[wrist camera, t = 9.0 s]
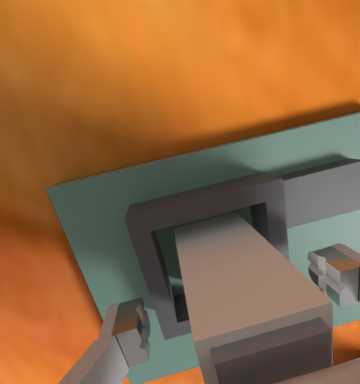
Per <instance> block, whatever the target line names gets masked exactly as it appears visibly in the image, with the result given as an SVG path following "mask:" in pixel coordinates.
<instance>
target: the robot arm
mask: <svg viewBox="0 0 360 384" xmlns="http://www.w3.org/2000/svg"><path fill="white" fill-rule="evenodd" d="M308 260H309V261H310V262H311V263H310V265H309V266H308V272H309V275H310V277H311V279H312V281H313V282H314V283H315V284H316V285H317V286H318V287H319V288H321V289H324V290H326V293H327V296H328V297H330V298H331V299H332V300H333V301H334V302H335V303H336V304H337V305H338V306H339V307H342V306H346V305H350V304H354V303H358V302H359V303H360V254H359V253H358V252H356V251H354V250H352V249H351V248H349V247H347V246H345V245H344V244H340V243H338V244H334V245H331V246H328V247H325V248H321V249H318V250H314V251H310V252H309V253H308ZM144 305H145V304H144V301H143V298H137V299H133V300H129V301H125V302H121V303H117V304H113V305H109V307H108V308H107V311H106V314H105V318H104V321H103V324H102V328H101V331H100V334H99V338H98V340H96V341H94V342H93V343H92V344H91V346H90V347H89V348H88V349H87V350H86V352H85V353H84V354H83V355H82V356H81V357H80V359H79V360H78V361H77V362H76V363H75V365H74V366H73V367H72V368H71V369H70V371H69V372H68V373H67V374H66V375H65V377H64V378H63V379H62V380H61V381H60V382H59V384H122V383H123V381H124V379H125V377H126V375H127V373H128V371H129V368H131V367H134V366H137V365H140V364H143V363H146V362H149V358H150V343H149V341H148V338H149V336H150V329H151V328H150V320H149V315H148V312H147V311H146V310H144ZM274 384H360V358H357V359H354V360H351V361H347V362H344V363H341V364H337V365H334V366H331V367H327V368H324V369H321V370H317V371H314V372H311V373H308V374H304V375H301V376H298V377H294V378H291V379H288V380H284V381H281V382H277V383H274Z"/></svg>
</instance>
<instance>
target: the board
mask: <svg viewBox="0 0 360 384" xmlns="http://www.w3.org/2000/svg"><path fill="white" fill-rule="evenodd" d="M46 191H47V194H48V196H49V198H50V201H51V203H52V205H53V207H54V210H55V212H56V214H57V217H58V219H59V221H60V223H61V226H62V228H63V230H64V232H65V235H66V237H67V239H68V242H69V244H70V246H71V248H72V251H73V253H74V255H75V258H76V260H77V262H78V264H79V267H80V269H81V271H82V274H83V276H84V278H85V280H86V283H87V285H88V287H89V290H90V292H91V294H92V296H93V299H94V301H95V303H96V306H97V308H98V310H99V312H100V315H101V317H102V319H103V321H104V318H105V314H106V311H107V308H108V307H109V305H113V304H117V303H121V302H125V301H129V300H133V299H137V298H143V301H144V304H145V305H144V310H146V311H147V312H148V315H149V320H150V328H151V329H150V336H149V338H148V341H149V343H150V358H149V362H146V363H143V364H140V365H137V366H134V367H131V368H129V371H128V373H127V376H128V379H129V381H130V383H131V384H141V383H144V382H148V381H151V380H154V379H158V378H161V377H165V376H168V375H172V374H175V373H178V372H182V371H185V370H189V369H192V368H195V367H199V366H200V364H199V360H198V357H197V353H196V349H195V346H194V342H193V337H192V331H191V325H190V320H189V314H188V309H187V303H186V297H185V292H184V286H183V280H182V275H181V269H180V264H179V258H178V252H177V247H176V241H175V235H174V230H173V228H175V227H179V226H183V225H187V224H191V223H195V222H199V221H203V220H207V219H210V218H214V217H218V216H222V215H226V214H230V213H234V212H237V213H238V214H239V215H240V216H241V217H242V218H243V219H244V220H245V221H247V222H248V223H249V224H250V225H251V226H252V227H253V228H254V229H255V230H256V231H257V232H258V233H259V234H260V235H261V236H263V237H264V238H265V239H266V240H267V241H268V242H269V243H270V244H271V245H272V246H273V247H274V248H275V249H276V250H277V251H279V252H280V253H281V254H282V255H283V256H284V257H285V258H286V259H287V260H288V261H289V262H290V263H291V264H292V265H293V266H295V267H296V268H297V269H298V270H299V271H300V272H301V273H302V274H303V275H304V276H305V277H306V278H307V279H308V280H309V281H311V282H312V283H313V284H314V285H315V286H316V287H317V288H318V289H319V290H320V291H321V292H322V293H323V294H324V295H325V296H327V293H326V290H324V289H321V288H319V287H318V286H317V285H316V284H315V283H314V282H313V281H312V279H311V277H310V275H309V272H308V266H309V265H310V263H311V262H310V261H309V260H308V253H309V252H310V251H314V250H318V249H321V248H325V247H328V246H331V245H334V244H338V243H340V244H344V245H345V246H347V247H349V248H351V249H352V250H354V251H356V252H358V253H359V254H360V111H358V112H353V113H349V114H345V115H341V116H337V117H333V118H329V119H324V120H320V121H316V122H312V123H308V124H304V125H300V126H295V127H291V128H287V129H283V130H279V131H275V132H270V133H266V134H262V135H258V136H254V137H250V138H246V139H241V140H237V141H233V142H229V143H225V144H221V145H217V146H212V147H208V148H204V149H200V150H196V151H192V152H188V153H183V154H179V155H175V156H171V157H167V158H163V159H159V160H154V161H150V162H146V163H142V164H138V165H134V166H129V167H125V168H121V169H117V170H113V171H109V172H105V173H100V174H96V175H92V176H88V177H84V178H80V179H76V180H71V181H67V182H63V183H59V184H56V185H53V186H51V187H49V188H47V189H46ZM327 297H328V296H327ZM328 298H329V299H330V300H331V301H332V302H333V327H336V326H339V325H342V324H346V323H349V322H353V321H356V320H359V319H360V303H359V302H358V303H354V304H350V305H346V306H342V307H339V306H338V305H337V304H336V303H335V302H334V301H333V300H332V299H331V298H330V297H328Z"/></svg>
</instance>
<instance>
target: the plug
mask: <svg viewBox="0 0 360 384" xmlns="http://www.w3.org/2000/svg"><path fill="white" fill-rule="evenodd" d="M173 230H174V235H175V241H176V247H177V252H178V258H179V264H180V269H181V275H182V280H183V286H184V292H185V297H186V303H187V309H188V314H189V320H190V325H191V331H192V337H193V342H194V346H195V349H196V353H197V357H198V360H199V364H200V367H201V371H202V375H203V378H204V382H205V384H274V383H277V382H281V381H284V380H288V379H291V378H294V377H298V376H301V375H304V374H308V373H311V372H314V371H317V370H321V369H324V368H327V367H331V366H333V302H332V301H331V300H330V299H329V298H328V297H327V296H325V295H324V294H323V293H322V292H321V291H320V290H319V289H318V288H317V287H316V286H315V285H314V284H313V283H312V282H311V281H309V280H308V279H307V278H306V277H305V276H304V275H303V274H302V273H301V272H300V271H299V270H298V269H297V268H296V267H295V266H293V265H292V264H291V263H290V262H289V261H288V260H287V259H286V258H285V257H284V256H283V255H282V254H281V253H280V252H279V251H277V250H276V249H275V248H274V247H273V246H272V245H271V244H270V243H269V242H268V241H267V240H266V239H265V238H264V237H263V236H261V235H260V234H259V233H258V232H257V231H256V230H255V229H254V228H253V227H252V226H251V225H250V224H249V223H248V222H247V221H245V220H244V219H243V218H242V217H241V216H240V215H239V214H238V213H237V212H234V213H230V214H226V215H222V216H218V217H214V218H210V219H207V220H203V221H199V222H195V223H191V224H187V225H183V226H179V227H175V228H173Z"/></svg>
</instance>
